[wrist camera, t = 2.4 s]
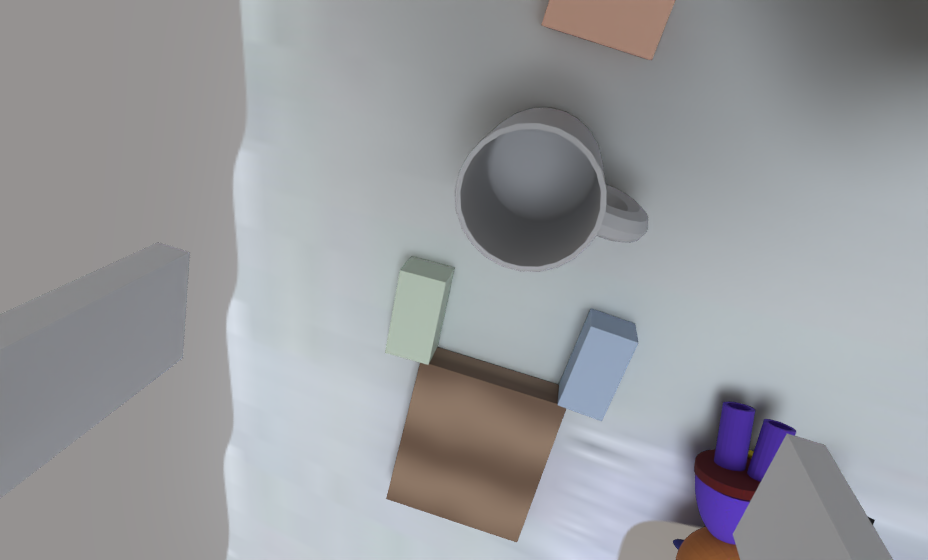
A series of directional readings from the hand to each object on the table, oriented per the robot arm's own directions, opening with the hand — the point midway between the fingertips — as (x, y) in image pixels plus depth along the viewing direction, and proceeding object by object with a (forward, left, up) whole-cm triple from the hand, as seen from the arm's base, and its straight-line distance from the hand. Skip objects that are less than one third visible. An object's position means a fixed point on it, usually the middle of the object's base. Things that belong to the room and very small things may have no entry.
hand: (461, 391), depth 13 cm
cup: (0, +1, -27) cm, 27 cm away
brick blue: (+11, +7, -27) cm, 30 cm away
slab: (+20, +1, -26) cm, 33 cm away
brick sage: (+11, -5, -27) cm, 29 cm away
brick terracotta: (-9, +1, -27) cm, 28 cm away
